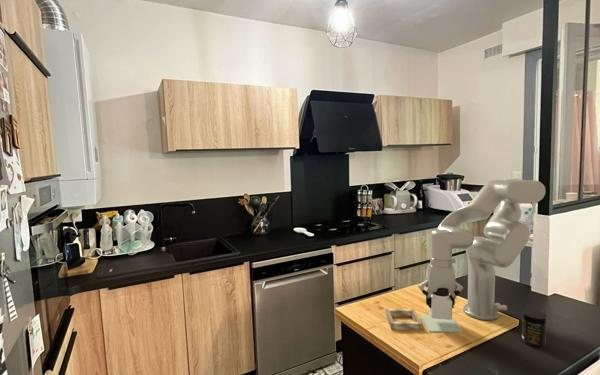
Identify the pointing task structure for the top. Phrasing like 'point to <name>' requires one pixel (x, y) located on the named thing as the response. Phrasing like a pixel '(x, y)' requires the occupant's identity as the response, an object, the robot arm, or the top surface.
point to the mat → (440, 324)
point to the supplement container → (534, 328)
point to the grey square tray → (403, 325)
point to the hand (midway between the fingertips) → (440, 306)
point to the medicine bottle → (441, 304)
